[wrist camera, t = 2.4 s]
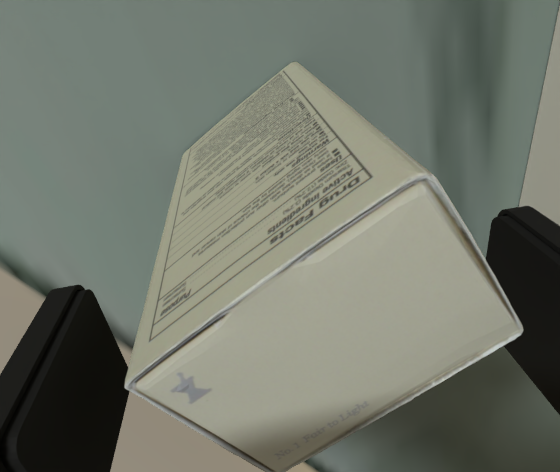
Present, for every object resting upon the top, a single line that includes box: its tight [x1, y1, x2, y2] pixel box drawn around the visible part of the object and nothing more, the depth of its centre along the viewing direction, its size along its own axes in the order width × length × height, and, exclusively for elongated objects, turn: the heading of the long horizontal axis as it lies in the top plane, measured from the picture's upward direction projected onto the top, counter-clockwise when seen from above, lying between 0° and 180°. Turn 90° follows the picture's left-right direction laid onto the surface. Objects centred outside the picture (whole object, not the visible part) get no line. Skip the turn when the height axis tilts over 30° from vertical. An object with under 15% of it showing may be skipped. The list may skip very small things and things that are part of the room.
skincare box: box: [124, 62, 523, 472], centre depth 12 cm, size 6×4×12 cm
